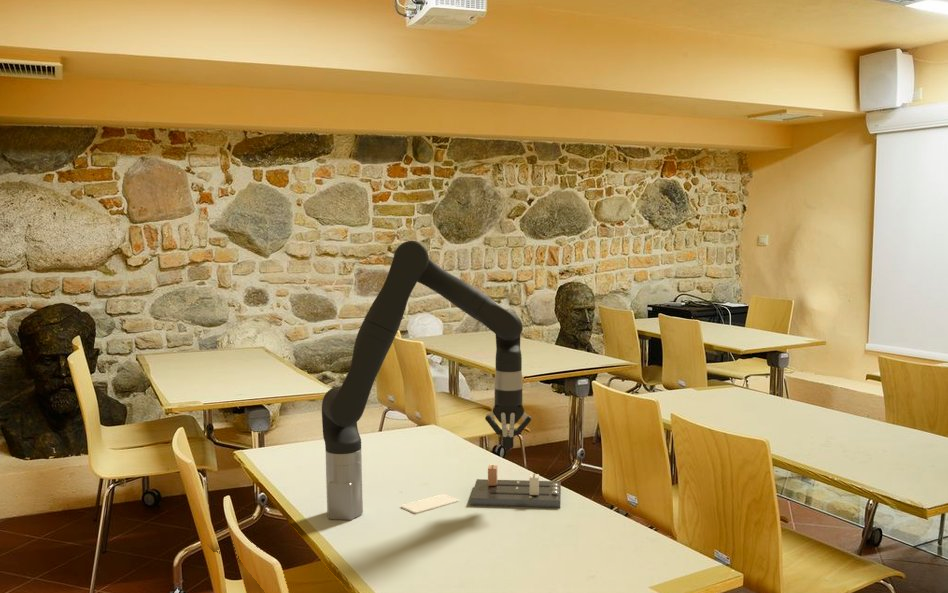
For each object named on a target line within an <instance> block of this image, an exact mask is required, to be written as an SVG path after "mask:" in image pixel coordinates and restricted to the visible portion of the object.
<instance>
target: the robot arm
mask: <svg viewBox="0 0 948 593" xmlns="http://www.w3.org/2000/svg"><path fill="white" fill-rule="evenodd" d="M417 283H419V284H421V285H423V286H425V287H427V288H429V289H430V290H432V291H433V292H435V293H437V294H438V295H440V296H441V297H443V298H444V299H445V300H447V301H448V302H450V303H451V304H452V305H454V306H455V307H456V308H458V309H460V310H461V311H463V312H464V313H466V315H468V316H470V317H471V318H473V319H475V320H476V321H478V322H479V323H481V324H482V325H483V326H485V327H486V328H488V329H489V330H490V331H491V332H493V333H494V335H495V346H496V348H495V349H496V350H495V370H494V371H495V374H494V406H493V408H492V411H491V412H490V413H488V414H486V416H485V418H484V419H485V421H486V422H487V423H488V425H489V426H490V427H491V429H492V430H493V431H494V432H495V434H496V435H500V436H501V437H502V448H503V449H504V450H505V451H506V452H507V451H508V452H509V451H511V450H513V448H514V443H515V442H514V441H515V440H514V439H515V437H516V436H520V434H521V433H522V432H523V431H524V430H525V429H526V427H527V426H528V425H529V424H530V422H531V421H532V416H531V415H530V414H527V413H526V412H525V408H524V406H523V386H524V382H523V372H522V370H523V369H522V368H523V367H522V366H523V364H522V362H523V360H522V350H521V334H522V332H523V328H524V327H523V322H522V320H521V319H520V316H518V315H517V314H516V313H515V312H512V311H509V310H507V309H505V308H504V307H502V306H501V305H499V304H497V303H496V302H495V300H493V299H492V298H491V297H490V296H489V295H487V294H485V293H484V292H483V291H482V290H479V289H478V288H477V287H475V286H473V285H471V284H470V283H468V282H466V281H464V280H463V279H461V278H458V277H457V276H454V275H453V274H452V273H449V272H448V271H446V270H445V269H443V268H441V267H440V266H439V265H438V264H437V263H436V262H435V261H434V260H433V259H431V258H430V257H429V252H428V250H427V248H426V246H424V244H422V243H421V242H419V241H417V240H408V241H404V242H403V243H401V244H400V245H398V247H397V248H396V249H395V251H394V254H393V258H392V262H391V265H390V267H389V270H388V273H387V276H386V279H385V281H384V284H383V286H382V287H381V289H380V290H379V293H378V294H377V295H376V298H375V299H374V301H373V302H372V303H371V305H370V308H369V309H368V311H367V313H366V315H365V317H364V318H363V321H362V323H361V326H360V327H359V330H358V332H357V334H356V338H355V341H354V347H353V351H352V357H351V362H350V365H349V366H350V367H349V370H348V372H347V375H346V376H345V379H344V381H343V382H342V385H340V386H333V387H332V388H330V389H329V390H327V392H326V393H325V394H324V395H323V398H322V402H321V420H322V421H321V423H322V437H323V441H324V445H325V447H324V448H325V480H326V483H325V484H326V485H325V486H326V487H325V488H326V513H327V514H326V515H327V517H328V519H329V520H345V521H348V520H349V521H350V520H351V521H353V519H355V518H358V517H360V516H361V515H362V514H363V512H364V509H363V508H364V507H363V506H364V505H363V503H364V502H363V500H364V499H363V472H362V471H363V469H362V468H363V466H362V462H363V460H362V439H361V436H360V433H359V429H358V421H359V420H361V418H362V417H363V414H364V411H365V409H366V406H367V402H368V400H369V396H370V394H371V391H372V389H373V388H372V387H373V385H374V382H375V380H376V378H377V377H378V376H377V375H378V374H379V372H380V370H381V368H382V365H383V363H384V361H385V359H386V357H387V355H388V353H389V351H390V349H391V347H392V345H393V343H394V340H395V338H396V336H397V333H398V331H399V328H400V326H401V323H402V320H403V316H404V315H405V312H406V308H407V304H408V301H409V298H410V296H411V294H412V292H413V290H414V288H415V286H416V284H417ZM521 418H522V419H521ZM495 419H497V421H498V422H499V423H500V424H501V427H500V426H499V425H498V423H497V422H496V420H495ZM520 419H521V421H522V422H521V423H520V425H519V426H518V427H517V428H516V429H515V426H516V424H517V423H518V422H519V421H520ZM508 425H509V427H508ZM508 428H509V431H508Z"/></svg>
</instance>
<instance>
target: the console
mask: <svg viewBox="0 0 948 593" xmlns="http://www.w3.org/2000/svg"><path fill="white" fill-rule="evenodd" d="M561 484H562V483H561V480H560V481H557V480H555V481H554V480H552V481H551V480H539V495H530V480H522V479H521V480H520V479H518V480H517V479H514V480H513V479H497V486H494V485H488V479H484V478H483V479H482V478H481V479H479V478H478V479H476V481H475V484H474V486H473V490H472V493H471V496H470V501H469V502H470V506H475V507H476V506H477V507H478V506H481V507H484V506H485V507H512V508H513V507H517V508H518V507H519V508H545V509H546V508H549V509H550V508H552V509H553V508H554V509H561V503H562V502H561V501H562V500H561V499H562V498H561V493H562V492H561V491H562V487H561V486H562V485H561Z"/></svg>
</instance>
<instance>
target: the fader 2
mask: <svg viewBox="0 0 948 593" xmlns="http://www.w3.org/2000/svg"><path fill="white" fill-rule="evenodd" d="M529 481H530V495H539V481H540V474H539V473H536V474H535V473H530V474H529Z"/></svg>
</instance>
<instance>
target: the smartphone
mask: <svg viewBox="0 0 948 593" xmlns="http://www.w3.org/2000/svg"><path fill="white" fill-rule="evenodd" d="M458 502H460V500H459V499H458V498H455V497H453V496H450V495H448V494H445V493H441V494H438V495H435V496H434V495H433V496H430V497H426V498H424V499H419V500H415V501H412V502H408V503H404V504H401V505H400V508H401V509H403V510H405V511H407V512H410V513H412V514H415V515H418V514H422V513H425V512H428V511H432V510H435V509H438V508H442V507H445V506H449V505H452V504H456V503H458Z"/></svg>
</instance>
